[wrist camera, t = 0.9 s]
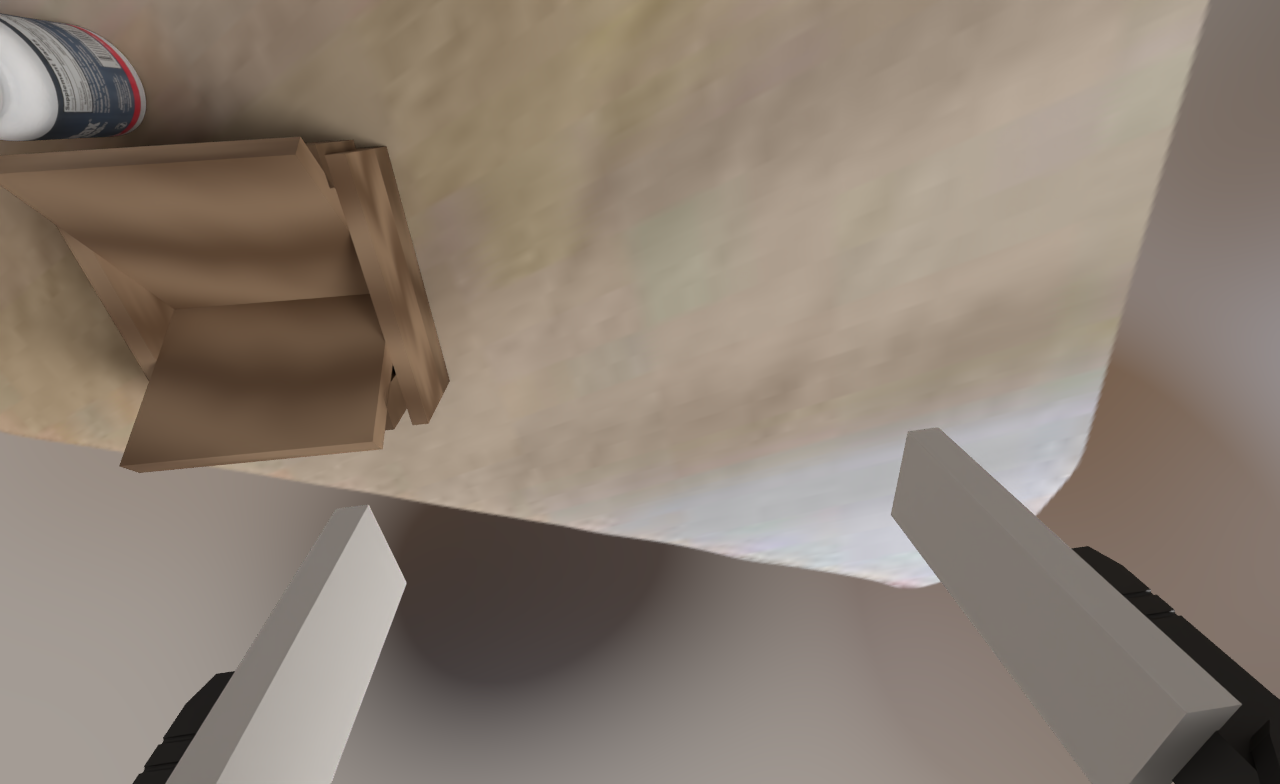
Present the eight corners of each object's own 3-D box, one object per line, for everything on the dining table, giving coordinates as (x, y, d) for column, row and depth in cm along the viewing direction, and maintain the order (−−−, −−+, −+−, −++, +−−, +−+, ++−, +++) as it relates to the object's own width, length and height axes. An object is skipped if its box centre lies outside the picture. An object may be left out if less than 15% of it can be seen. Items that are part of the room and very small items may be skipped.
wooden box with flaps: (116, 146, 29) (-121, 164, 19) (381, 130, 30) (284, 138, 20) (243, 399, 37) (123, 501, 28) (449, 381, 38) (403, 472, 28)
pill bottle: (64, 134, 29) (-128, 142, 21) (13, 21, 26) (-228, -17, 18) (166, 138, 29) (15, 147, 21) (125, 27, 27) (-63, -8, 19)
